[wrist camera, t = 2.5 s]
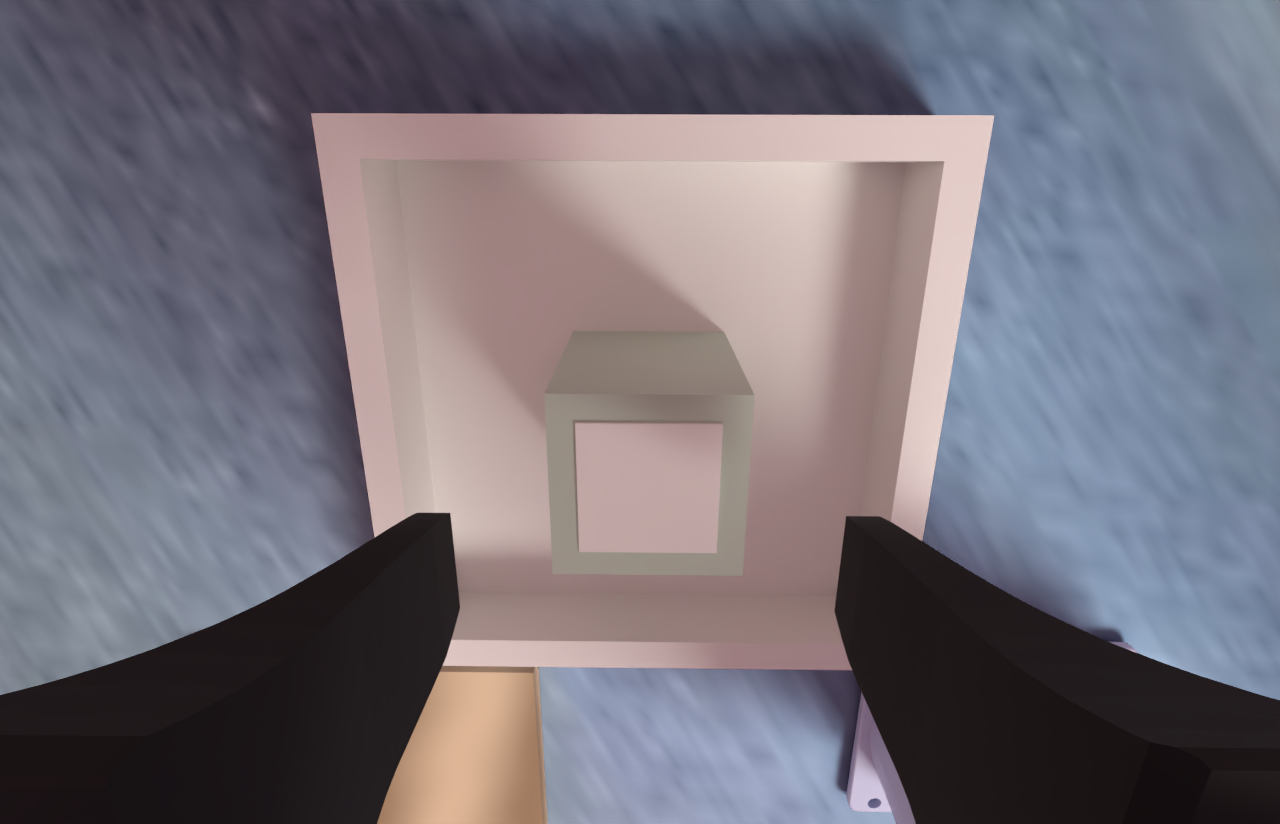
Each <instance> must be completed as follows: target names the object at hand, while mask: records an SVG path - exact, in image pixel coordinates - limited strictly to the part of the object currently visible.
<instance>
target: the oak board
mask: <svg viewBox="0 0 1280 824" xmlns="http://www.w3.org/2000/svg"><path fill="white" fill-rule="evenodd" d="M377 824H548V821H547V804H546V787H545V770H544V753H543V736H542V719H541V703H540V686H539V669H538V667H510V666H442V668H441V670H440V672H439V675H438V677H437V679H436V682H435V684H434V686H433V689H432V691H431V693H430V695H429V698H428V700H427V702H426V704H425V707H424V709H423V711H422V713H421V715H420V718H419V720H418V722H417V724H416V727H415V729H414V731H413V733H412V736H411V738H410V740H409V742H408V745H407V747H406V749H405V751H404V754H403V756H402V758H401V760H400V763H399V765H398V767H397V769H396V772H395V775H394V777H393V780H392V782H391V785H390V787H389V790H388V792H387V795H386V798H385V801H384V804H383V807H382V810H381V813H380V816H379V819H378V822H377Z"/></svg>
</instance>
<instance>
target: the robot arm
mask: <svg viewBox="0 0 1280 824" xmlns="http://www.w3.org/2000/svg"><path fill="white" fill-rule="evenodd" d="M459 610H460V601H459V591H458V582H457V572H456V563H455V553H454V544H453V534H452V524H451V515H450V513H415V514H413V515H411V516H409V517H407V518H406V519H404V520H402V521H401V522H399V523H397V524H396V525H394V526H392V527H391V528H389V529H387V530H386V531H384V532H383V533H381V534H380V535H378V536H376V537H375V538H373V539H372V540H370V541H369V542H367V543H365V544H364V545H362V546H361V547H359V548H357V549H356V550H354V551H353V552H351V553H349V554H348V555H346V556H345V557H343V558H341V559H340V560H338V561H337V562H335V563H333V564H331V565H330V566H328V567H326V568H324V569H323V570H321V571H319V572H317V573H316V574H314V575H312V576H310V577H309V578H307V579H305V580H303V581H302V582H300V583H298V584H297V585H295V586H293V587H291V588H290V589H288V590H286V591H284V592H282V593H280V594H278V595H276V596H275V597H273V598H271V599H269V600H267V601H265V602H263V603H261V604H259V605H257V606H255V607H252V608H250V609H248V610H246V611H244V612H242V613H240V614H237V615H235V616H233V617H231V618H229V619H227V620H224V621H222V622H220V623H218V624H215V625H213V626H210V627H208V628H205V629H203V630H200V631H198V632H195V633H193V634H190V635H188V636H185V637H183V638H180V639H177V640H175V641H172V642H170V643H167V644H165V645H162V646H160V647H157V648H155V649H152V650H149V651H147V652H144V653H141V654H138V655H135V656H132V657H129V658H126V659H123V660H120V661H117V662H114V663H111V664H108V665H105V666H102V667H99V668H96V669H93V670H89V671H86V672H83V673H80V674H76V675H73V676H70V677H67V678H63V679H60V680H56V681H53V682H49V683H46V684H42V685H39V686H35V687H31V688H27V689H23V690H19V691H15V692H11V693H7V694H3V695H0V824H377V822H378V819H379V816H380V813H381V810H382V807H383V804H384V801H385V798H386V795H387V792H388V790H389V787H390V785H391V782H392V780H393V777H394V775H395V772H396V769H397V767H398V765H399V763H400V760H401V758H402V756H403V754H404V751H405V749H406V747H407V745H408V742H409V740H410V738H411V736H412V733H413V731H414V729H415V727H416V724H417V722H418V720H419V718H420V715H421V713H422V711H423V709H424V707H425V704H426V702H427V700H428V698H429V695H430V693H431V691H432V689H433V686H434V684H435V682H436V679H437V677H438V675H439V672H440V670H441V668H442V666H443V663H444V661H445V658H446V656H447V653H448V649H449V646H450V643H451V639H452V636H453V633H454V629H455V625H456V621H457V618H458V614H459ZM834 612H835V615H836V619H837V623H838V627H839V630H840V634H841V638H842V641H843V645H844V648H845V651H846V655H847V658H848V661H849V664H850V666H851V668H852V671H853V673H854V675H855V678H856V680H857V682H858V685H859V687H860V689H861V699H860V705H859V712H858V719H857V726H856V733H855V740H854V746H853V753H852V760H851V767H850V774H849V781H848V787H847V794H846V796H847V801H848V804H849V806H850V808H851V809H853V810H855V811H860V812H892V814H893V816H894V819H895V821H896V824H1280V700H1276V699H1272V698H1269V697H1265V696H1262V695H1258V694H1255V693H1252V692H1249V691H1246V690H1242V689H1239V688H1236V687H1233V686H1230V685H1227V684H1223V683H1220V682H1217V681H1214V680H1211V679H1208V678H1205V677H1201V676H1198V675H1195V674H1193V673H1190V672H1187V671H1184V670H1181V669H1178V668H1175V667H1173V666H1170V665H1167V664H1164V663H1161V662H1159V661H1156V660H1154V659H1151V658H1148V657H1146V656H1143V655H1141V654H1138V653H1137V651H1136V650H1135V649H1134V648H1133V647H1132V646H1131V645H1129V644H1128V643H1125V642H1108V641H1105V640H1103V639H1101V638H1098V637H1096V636H1094V635H1091V634H1089V633H1087V632H1084V631H1082V630H1080V629H1078V628H1076V627H1074V626H1072V625H1070V624H1067V623H1065V622H1063V621H1061V620H1059V619H1057V618H1055V617H1053V616H1050V615H1048V614H1046V613H1044V612H1042V611H1040V610H1038V609H1036V608H1034V607H1032V606H1030V605H1028V604H1027V603H1025V602H1023V601H1021V600H1019V599H1017V598H1015V597H1014V596H1012V595H1010V594H1008V593H1007V592H1005V591H1003V590H1001V589H999V588H998V587H996V586H994V585H992V584H990V583H989V582H987V581H985V580H984V579H982V578H980V577H978V576H977V575H975V574H973V573H972V572H970V571H968V570H967V569H965V568H964V567H962V566H960V565H959V564H957V563H955V562H954V561H952V560H951V559H949V558H947V557H946V556H944V555H943V554H941V553H940V552H938V551H936V550H935V549H933V548H932V547H930V546H929V545H927V544H926V543H924V542H922V541H921V540H919V539H918V538H916V537H915V536H913V535H911V534H910V533H908V532H907V531H905V530H903V529H902V528H900V527H899V526H897V525H895V524H894V523H892V522H890V521H888V520H886V519H884V518H882V517H880V516H846V521H845V529H844V537H843V545H842V553H841V561H840V569H839V578H838V586H837V594H836V602H835V610H834Z"/></svg>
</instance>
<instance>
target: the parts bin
mask: <svg viewBox="0 0 1280 824" xmlns="http://www.w3.org/2000/svg"><path fill="white" fill-rule="evenodd" d="M311 116H312V123H313V129H314V136H315V143H316V149H317V156H318V163H319V170H320V176H321V183H322V190H323V196H324V203H325V210H326V216H327V223H328V230H329V236H330V243H331V250H332V256H333V263H334V270H335V276H336V283H337V290H338V296H339V303H340V310H341V316H342V323H343V330H344V336H345V343H346V350H347V356H348V363H349V370H350V376H351V383H352V390H353V397H354V403H355V410H356V417H357V423H358V430H359V437H360V443H361V450H362V457H363V463H364V470H365V477H366V483H367V490H368V497H369V503H370V510H371V517H372V523H373V530H374V537H376V536H378V535H380V534H381V533H383V532H384V531H386V530H387V529H389V528H391V527H392V526H394V525H396V524H397V523H399V522H401V521H402V520H404V519H406V518H407V517H409V516H411V515H413V514H415V513H450V515H451V524H452V534H453V544H454V553H455V563H456V572H457V582H458V591H459V601H460V610H459V614H458V618H457V621H456V625H455V629H454V633H453V636H452V639H451V643H450V646H449V649H448V653H447V656H446V658H445V661H444V663H443V666H510V667H601V668H693V669H784V670H852V668H851V666H850V664H849V661H848V658H847V655H846V651H845V648H844V645H843V641H842V638H841V634H840V630H839V627H838V623H837V619H836V615H835V612H834V610H835V602H836V594H837V586H838V578H839V569H840V561H841V553H842V545H843V537H844V529H845V521H846V516H880V517H882V518H884V519H886V520H888V521H890V522H892V523H894V524H895V525H897V526H899V527H900V528H902V529H903V530H905V531H907V532H908V533H910V534H911V535H913V536H915V537H916V538H918V539H919V540H921V541H922V540H923V534H924V528H925V523H926V517H927V511H928V505H929V499H930V493H931V487H932V481H933V475H934V469H935V463H936V457H937V452H938V446H939V440H940V434H941V428H942V422H943V416H944V410H945V404H946V398H947V392H948V386H949V381H950V375H951V369H952V363H953V357H954V351H955V345H956V339H957V333H958V327H959V321H960V315H961V310H962V304H963V298H964V292H965V286H966V280H967V274H968V268H969V262H970V256H971V250H972V244H973V239H974V233H975V227H976V221H977V215H978V209H979V203H980V197H981V191H982V185H983V179H984V173H985V168H986V162H987V156H988V150H989V144H990V138H991V132H992V126H993V120H994V116H983V115H689V114H396V113H311ZM573 331H651V332H724V333H725V335H726V337H727V339H728V341H729V343H730V345H731V347H732V349H733V351H734V353H735V355H736V358H737V360H738V362H739V364H740V366H741V368H742V370H743V372H744V374H745V376H746V378H747V380H748V383H749V385H750V387H751V389H752V391H753V393H754V395H755V397H754V412H753V427H752V442H751V458H750V473H749V488H748V503H747V518H746V534H745V549H744V564H743V576H711V575H608V574H553V569H552V547H551V526H550V505H549V484H548V463H547V441H546V420H545V399H544V393H545V391H546V389H547V387H548V385H549V382H550V380H551V378H552V376H553V374H554V372H555V370H556V368H557V365H558V363H559V361H560V359H561V357H562V355H563V353H564V351H565V348H566V346H567V344H568V342H569V340H570V338H571V336H572V333H573Z"/></svg>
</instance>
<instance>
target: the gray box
mask: <svg viewBox="0 0 1280 824" xmlns="http://www.w3.org/2000/svg"><path fill="white" fill-rule="evenodd" d="M754 397H755V395H754V393H753V391H752V389H751V387H750V385H749V383H748V380H747V378H746V376H745V374H744V372H743V370H742V368H741V366H740V364H739V362H738V360H737V358H736V355H735V353H734V351H733V349H732V347H731V345H730V343H729V341H728V339H727V337H726V335H725V333H724V332H651V331H573V333H572V336H571V338H570V340H569V342H568V344H567V346H566V348H565V351H564V353H563V355H562V357H561V359H560V361H559V363H558V365H557V368H556V370H555V372H554V374H553V376H552V378H551V380H550V382H549V385H548V387H547V389H546V391H545V393H544V399H545V420H546V441H547V463H548V484H549V505H550V526H551V547H552V569H553V574H608V575H711V576H743V564H744V549H745V534H746V518H747V503H748V488H749V473H750V458H751V442H752V427H753V412H754Z"/></svg>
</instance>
